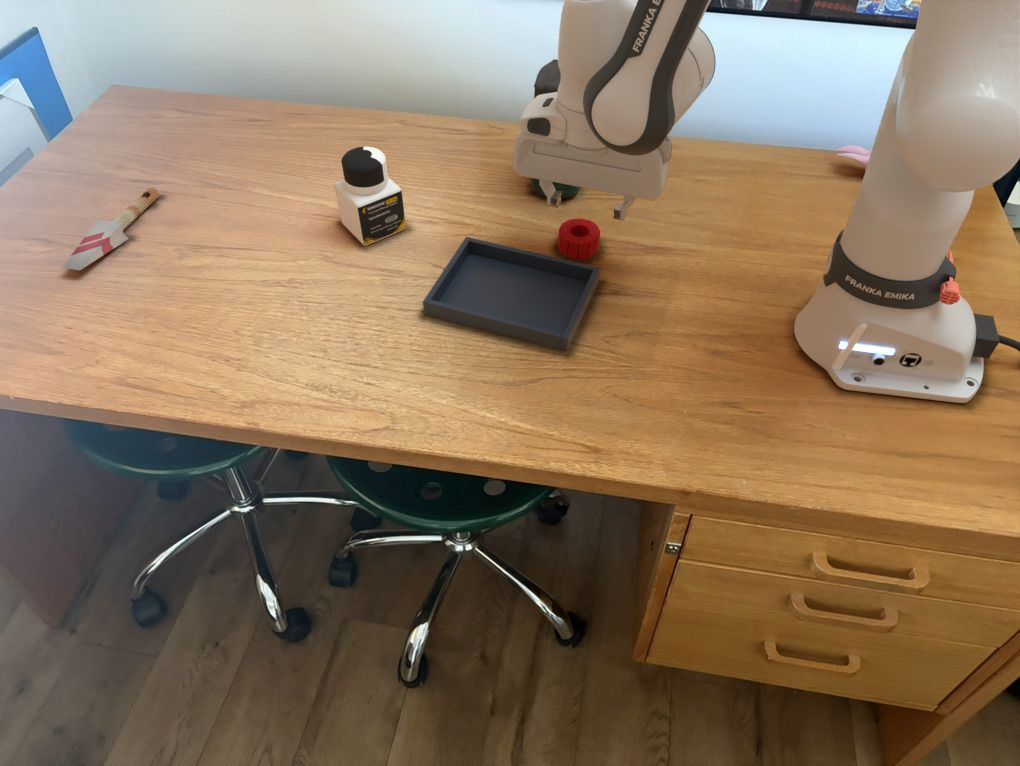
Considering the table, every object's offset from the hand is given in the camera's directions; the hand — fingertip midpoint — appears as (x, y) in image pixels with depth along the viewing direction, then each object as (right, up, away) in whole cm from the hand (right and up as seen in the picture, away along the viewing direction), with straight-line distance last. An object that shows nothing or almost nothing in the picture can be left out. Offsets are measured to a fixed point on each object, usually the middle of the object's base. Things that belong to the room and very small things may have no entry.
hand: (586, 211), depth 109 cm
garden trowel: (-68, -2, +7) cm, 68 cm away
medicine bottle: (-31, 0, +9) cm, 32 cm away
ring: (-1, -4, +5) cm, 7 cm away
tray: (-10, -12, -2) cm, 16 cm away
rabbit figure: (+48, +9, +17) cm, 52 cm away
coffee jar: (-3, +8, +16) cm, 18 cm away
